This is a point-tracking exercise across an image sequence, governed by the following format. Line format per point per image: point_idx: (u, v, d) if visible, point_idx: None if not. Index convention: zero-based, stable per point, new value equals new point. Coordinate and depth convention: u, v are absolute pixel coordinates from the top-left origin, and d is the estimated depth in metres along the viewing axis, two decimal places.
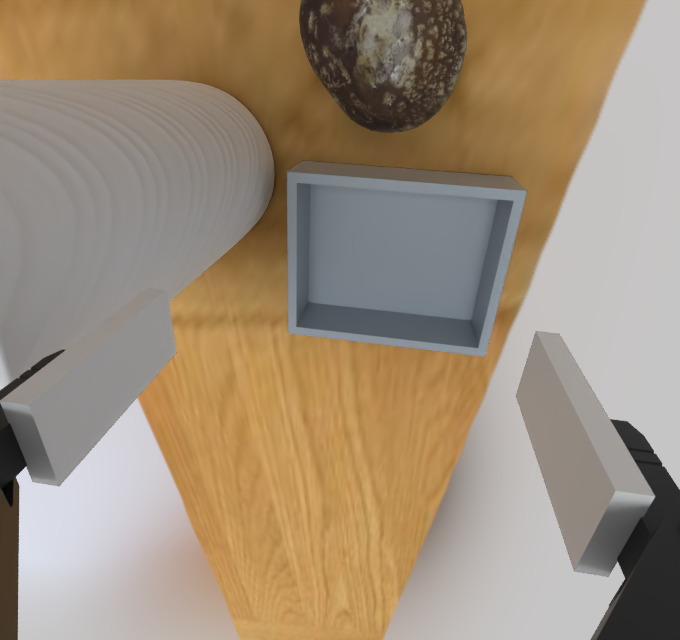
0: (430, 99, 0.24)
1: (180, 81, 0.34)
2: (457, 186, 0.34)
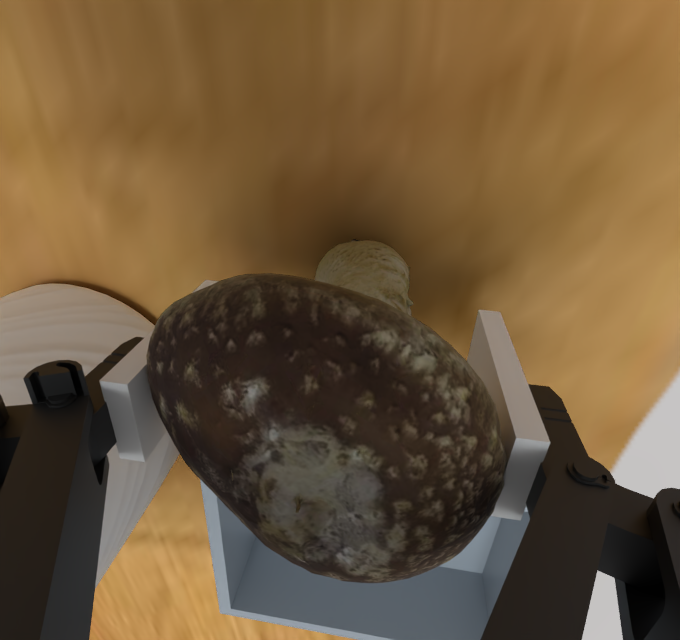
0: (425, 571, 0.11)
1: (18, 321, 0.21)
2: None
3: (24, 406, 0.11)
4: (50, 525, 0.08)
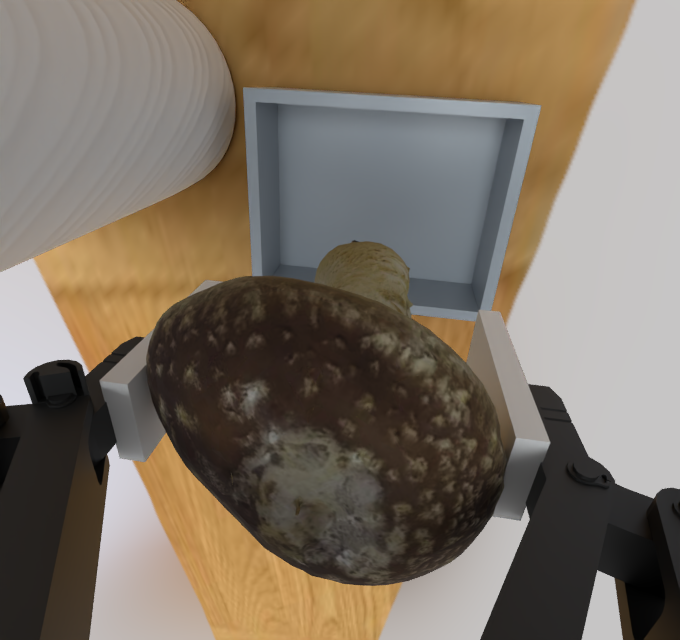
0: (425, 573, 0.11)
1: None
2: (453, 101, 0.27)
3: (24, 406, 0.11)
4: (51, 525, 0.08)
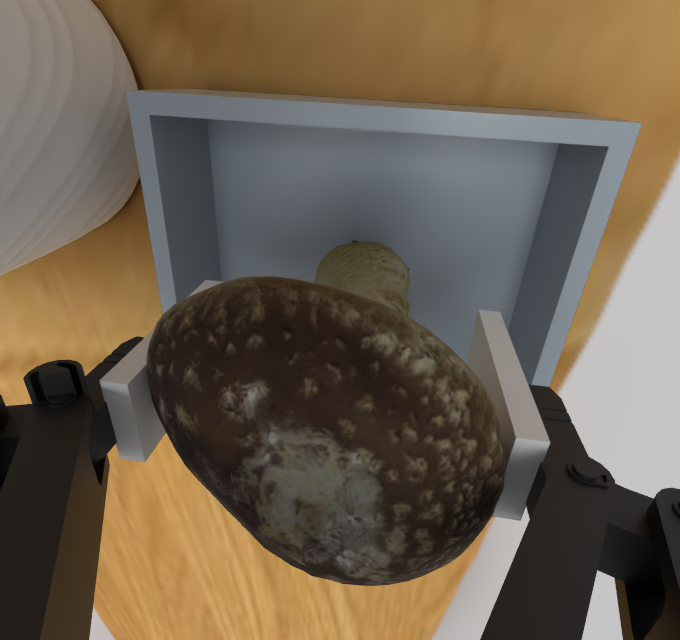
0: (425, 573, 0.11)
1: None
2: (485, 115, 0.15)
3: (24, 406, 0.11)
4: (51, 525, 0.08)
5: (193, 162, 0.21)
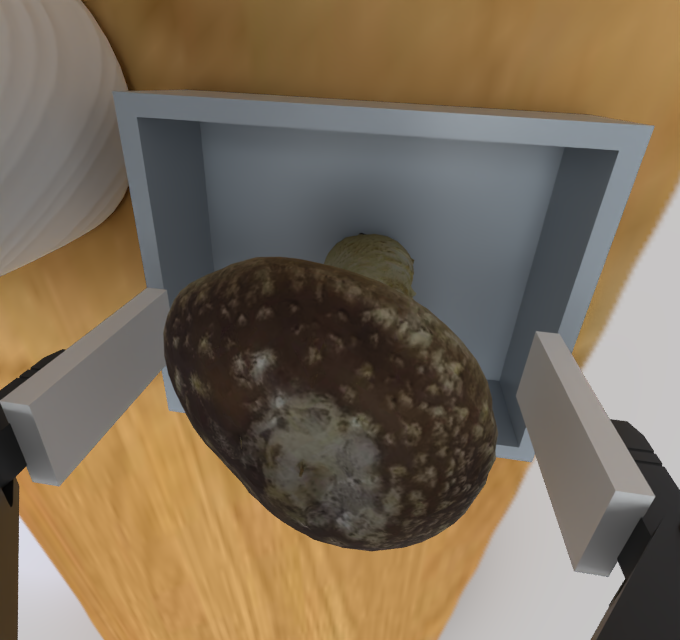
0: (420, 540, 0.12)
1: None
2: (489, 118, 0.15)
3: None
4: None
5: (185, 166, 0.20)
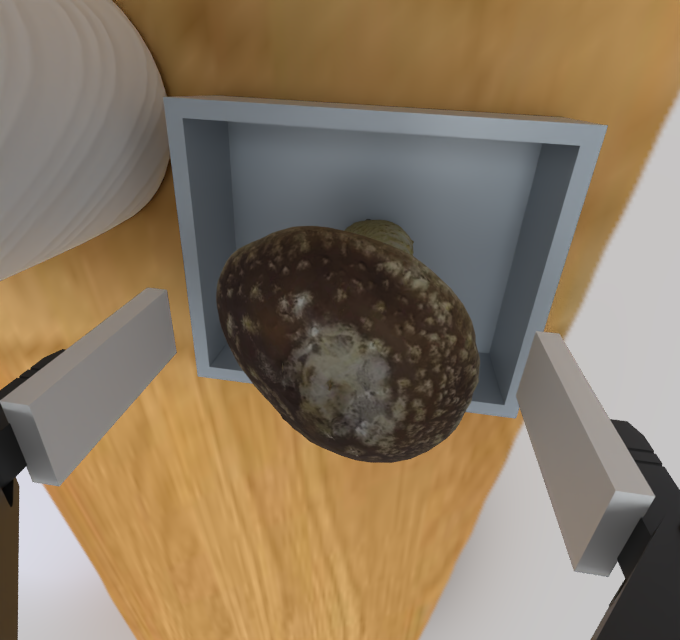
0: (420, 449, 0.15)
1: None
2: (474, 119, 0.18)
3: None
4: None
5: (216, 160, 0.24)
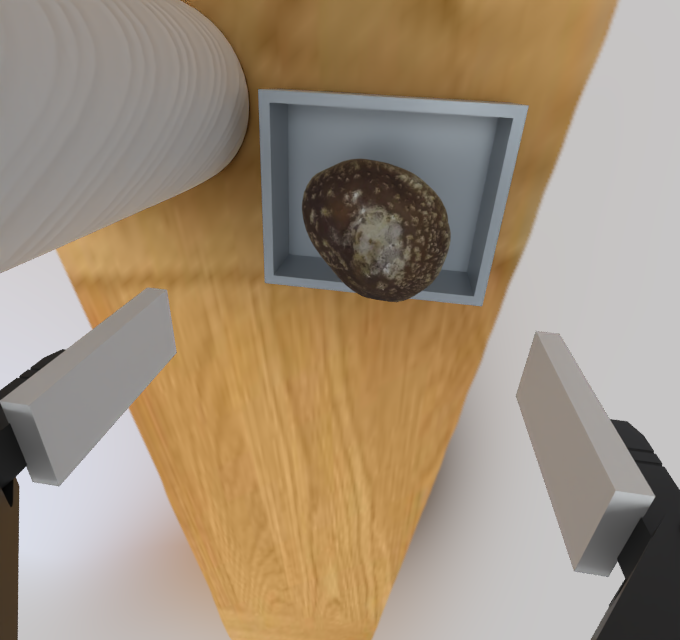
0: (418, 285, 0.27)
1: None
2: (449, 102, 0.30)
3: None
4: None
5: (282, 132, 0.35)
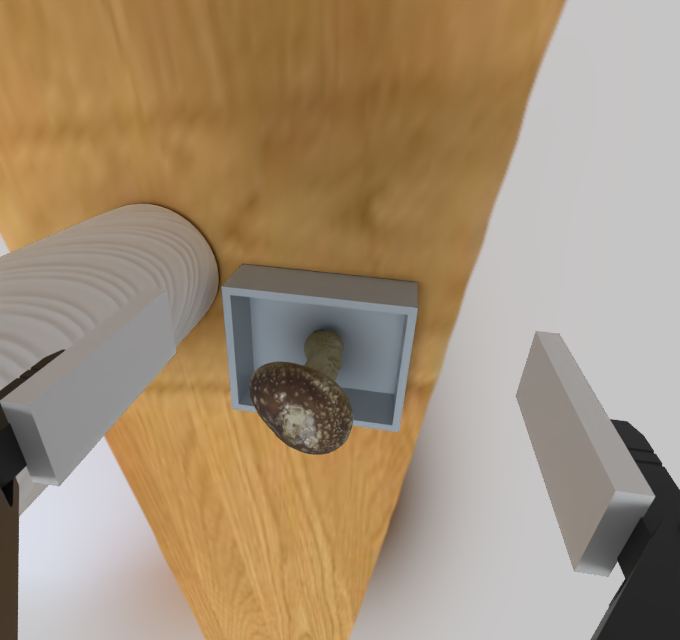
0: (331, 449, 0.37)
1: (130, 214, 0.40)
2: (361, 302, 0.40)
3: None
4: None
5: (243, 300, 0.46)
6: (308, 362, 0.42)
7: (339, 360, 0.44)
